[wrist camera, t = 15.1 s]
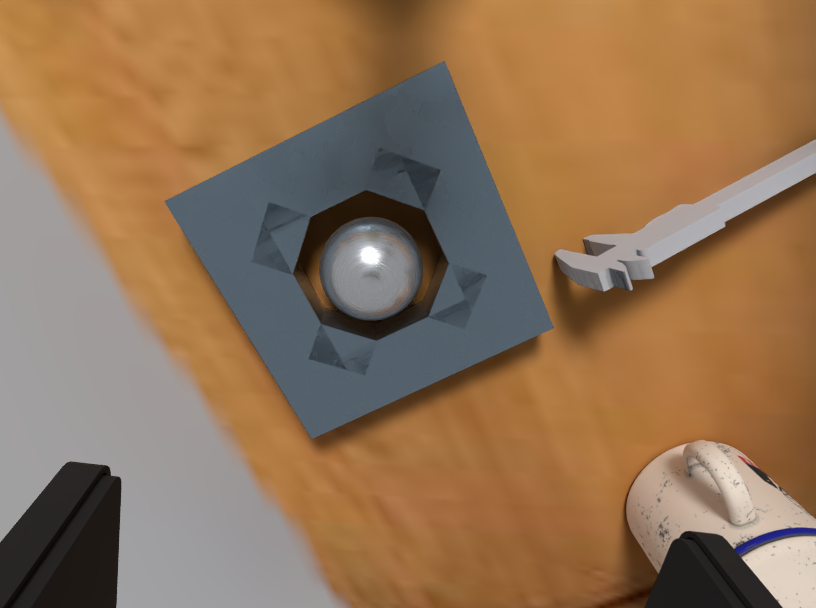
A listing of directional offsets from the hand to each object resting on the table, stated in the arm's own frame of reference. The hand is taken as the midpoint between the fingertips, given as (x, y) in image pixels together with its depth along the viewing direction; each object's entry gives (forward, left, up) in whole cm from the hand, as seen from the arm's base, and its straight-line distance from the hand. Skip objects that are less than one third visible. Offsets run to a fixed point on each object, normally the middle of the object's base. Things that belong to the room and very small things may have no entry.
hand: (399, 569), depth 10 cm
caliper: (-7, +18, -22) cm, 30 cm away
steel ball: (0, 0, -19) cm, 19 cm away
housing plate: (0, 0, -22) cm, 22 cm away
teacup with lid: (+11, +22, -22) cm, 33 cm away
